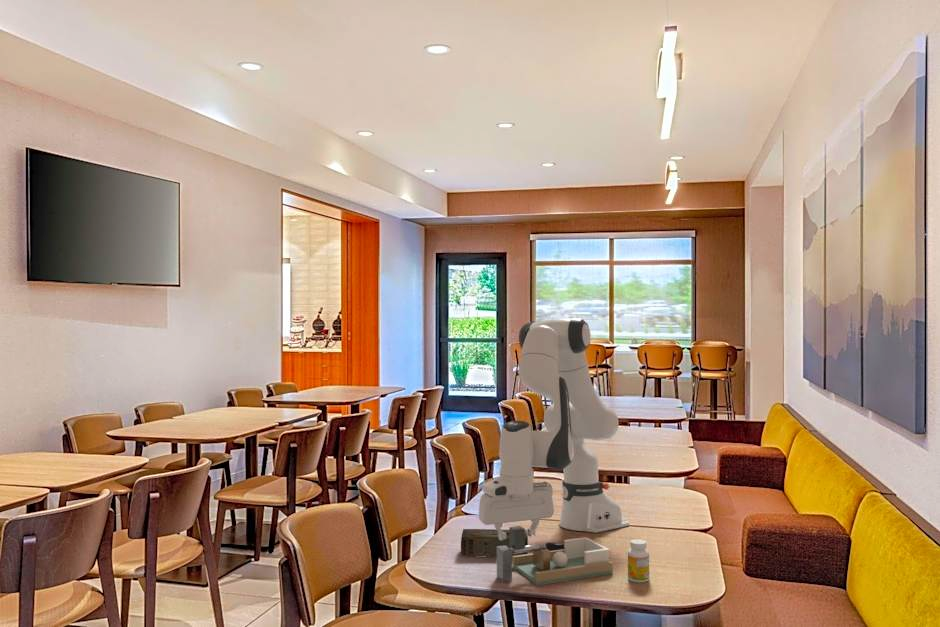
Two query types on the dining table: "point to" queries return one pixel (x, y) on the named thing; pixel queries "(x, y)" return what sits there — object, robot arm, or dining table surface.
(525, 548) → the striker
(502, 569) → the grey tall block
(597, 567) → the foosball board
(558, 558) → the ball
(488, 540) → the olive storage box
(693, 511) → the dining table surface
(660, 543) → the dining table surface
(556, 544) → the cell phone
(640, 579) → the supplement bottle
